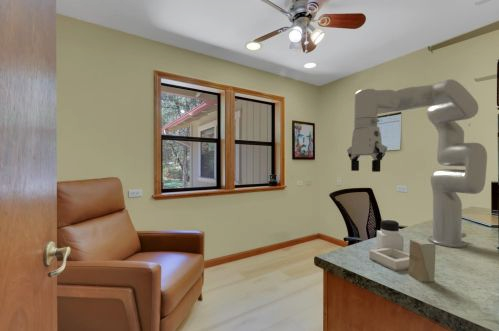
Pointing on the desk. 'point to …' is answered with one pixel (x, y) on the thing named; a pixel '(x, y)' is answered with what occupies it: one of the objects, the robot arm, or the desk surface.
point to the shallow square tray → (390, 258)
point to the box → (422, 260)
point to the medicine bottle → (389, 235)
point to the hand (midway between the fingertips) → (365, 171)
